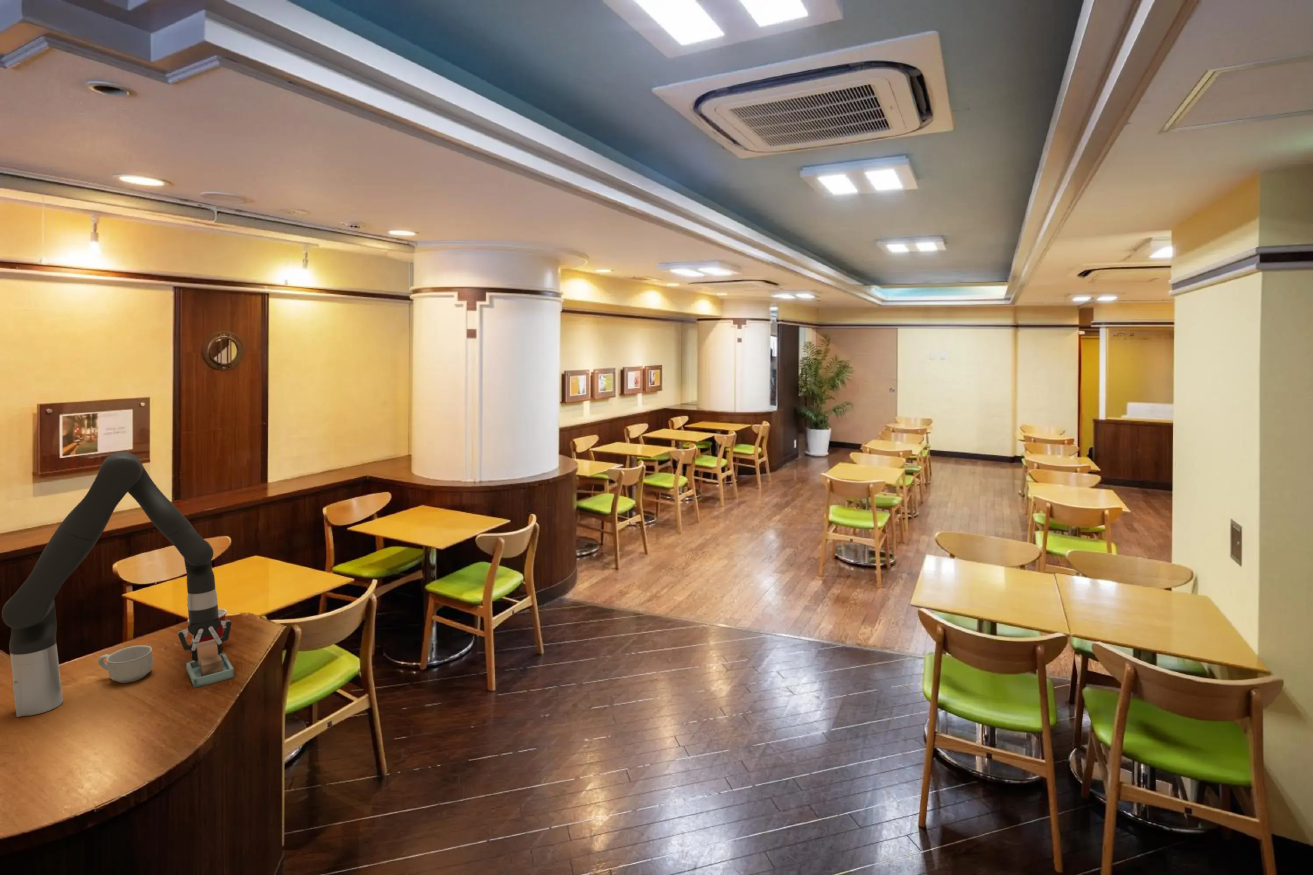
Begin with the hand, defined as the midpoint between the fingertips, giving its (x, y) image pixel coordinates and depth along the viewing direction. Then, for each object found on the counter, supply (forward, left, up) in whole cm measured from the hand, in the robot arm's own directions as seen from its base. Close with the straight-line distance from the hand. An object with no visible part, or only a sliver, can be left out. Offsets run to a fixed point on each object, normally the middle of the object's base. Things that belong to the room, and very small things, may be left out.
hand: (207, 657), depth 203 cm
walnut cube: (0, -7, -3) cm, 8 cm away
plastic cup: (+3, +17, -4) cm, 18 cm away
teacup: (-19, +10, -4) cm, 22 cm away
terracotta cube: (0, 0, -1) cm, 1 cm away
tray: (0, -4, -4) cm, 5 cm away
